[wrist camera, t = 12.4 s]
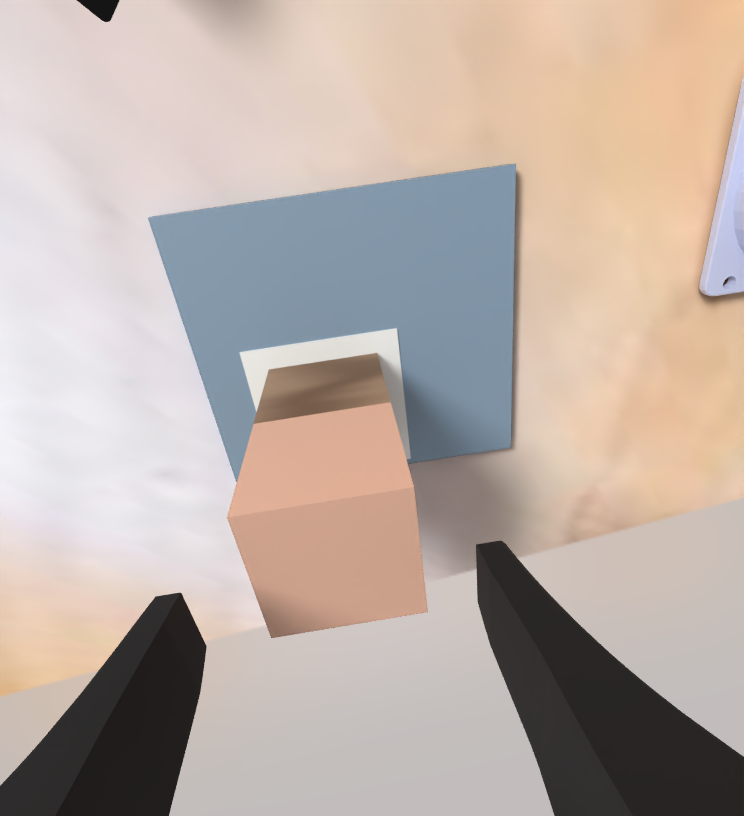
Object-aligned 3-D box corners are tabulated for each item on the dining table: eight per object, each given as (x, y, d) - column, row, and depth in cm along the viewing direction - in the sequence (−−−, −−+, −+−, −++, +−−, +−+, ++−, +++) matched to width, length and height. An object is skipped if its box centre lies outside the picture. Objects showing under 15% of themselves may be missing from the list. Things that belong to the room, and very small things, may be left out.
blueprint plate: (510, 163, 17) (516, 163, 16) (506, 441, 22) (511, 448, 22) (152, 216, 16) (147, 217, 16) (241, 484, 22) (239, 491, 21)
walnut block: (377, 352, 19) (390, 401, 15) (388, 443, 21) (403, 508, 17) (268, 369, 19) (253, 423, 15) (291, 459, 21) (283, 527, 17)
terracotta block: (390, 402, 15) (414, 487, 11) (404, 508, 17) (427, 612, 13) (253, 424, 15) (226, 517, 11) (284, 528, 17) (271, 638, 13)
